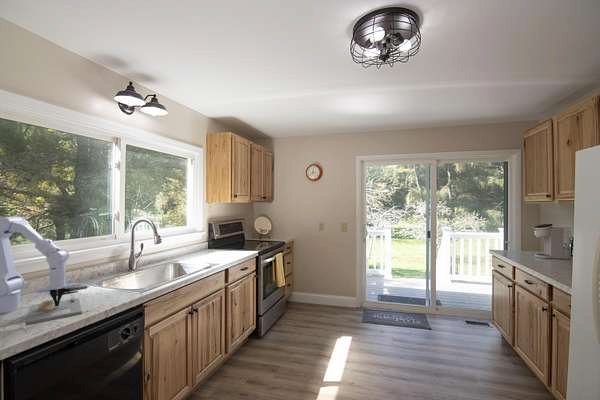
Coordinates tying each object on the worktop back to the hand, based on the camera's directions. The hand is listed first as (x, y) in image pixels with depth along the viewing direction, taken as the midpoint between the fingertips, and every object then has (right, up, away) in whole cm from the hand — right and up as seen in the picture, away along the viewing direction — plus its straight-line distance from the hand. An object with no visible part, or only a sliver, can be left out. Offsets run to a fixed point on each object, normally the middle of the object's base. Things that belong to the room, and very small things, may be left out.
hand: (56, 305), depth 129 cm
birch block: (-3, -1, -2) cm, 4 cm away
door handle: (-17, -3, +27) cm, 32 cm away
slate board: (+1, -2, -1) cm, 3 cm away
